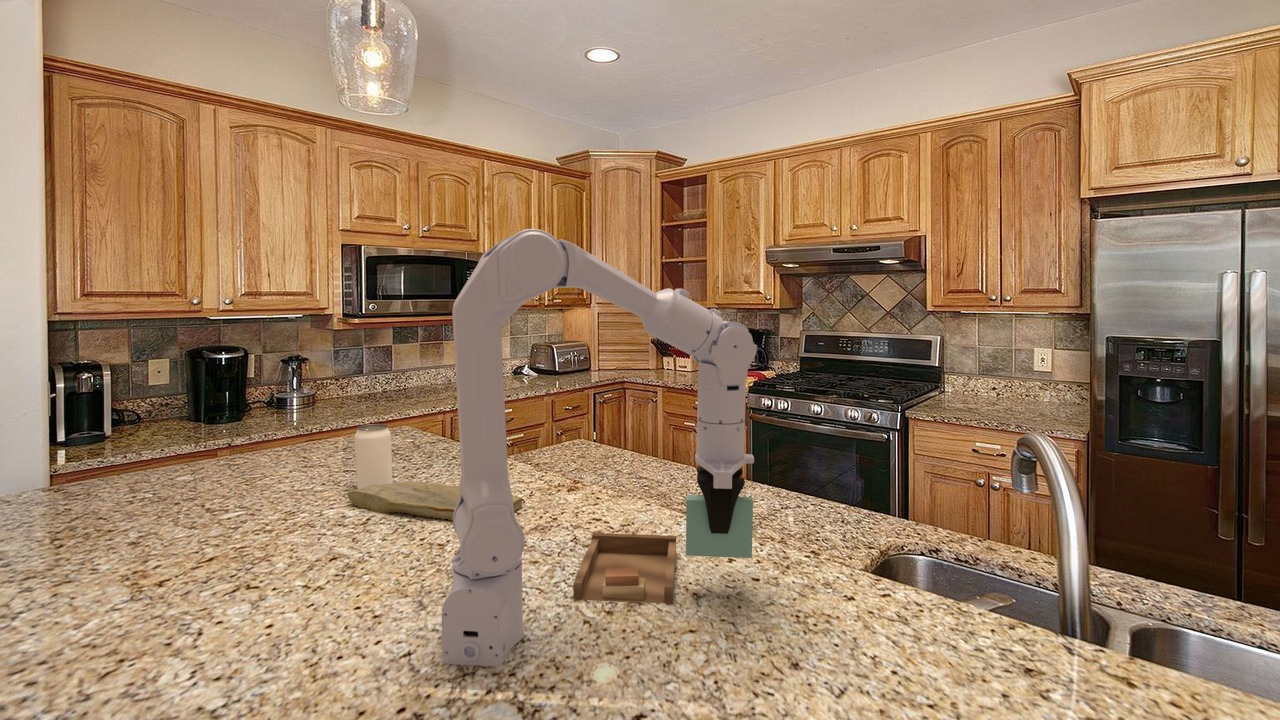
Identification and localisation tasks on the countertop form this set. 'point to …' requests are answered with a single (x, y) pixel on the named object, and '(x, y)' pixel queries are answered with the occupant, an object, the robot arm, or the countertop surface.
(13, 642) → the countertop surface
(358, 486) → the can
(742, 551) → the block
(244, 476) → the countertop surface
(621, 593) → the offcut lower
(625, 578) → the offcut upper
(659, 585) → the tray
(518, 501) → the stone slab
